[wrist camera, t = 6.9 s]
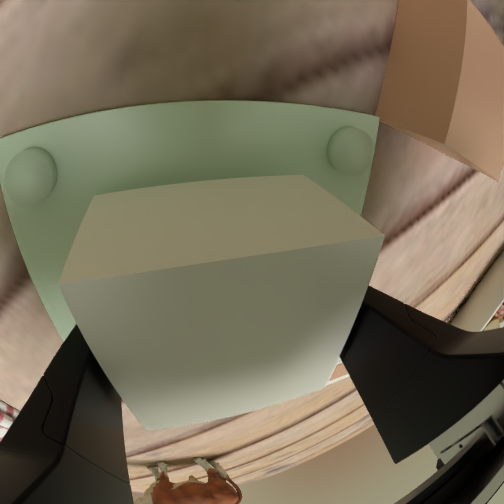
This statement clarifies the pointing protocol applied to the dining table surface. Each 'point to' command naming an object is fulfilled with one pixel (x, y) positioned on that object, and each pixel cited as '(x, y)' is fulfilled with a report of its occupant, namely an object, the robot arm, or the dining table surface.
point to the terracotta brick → (447, 82)
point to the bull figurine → (192, 487)
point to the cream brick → (218, 293)
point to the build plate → (166, 165)
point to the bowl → (484, 302)
